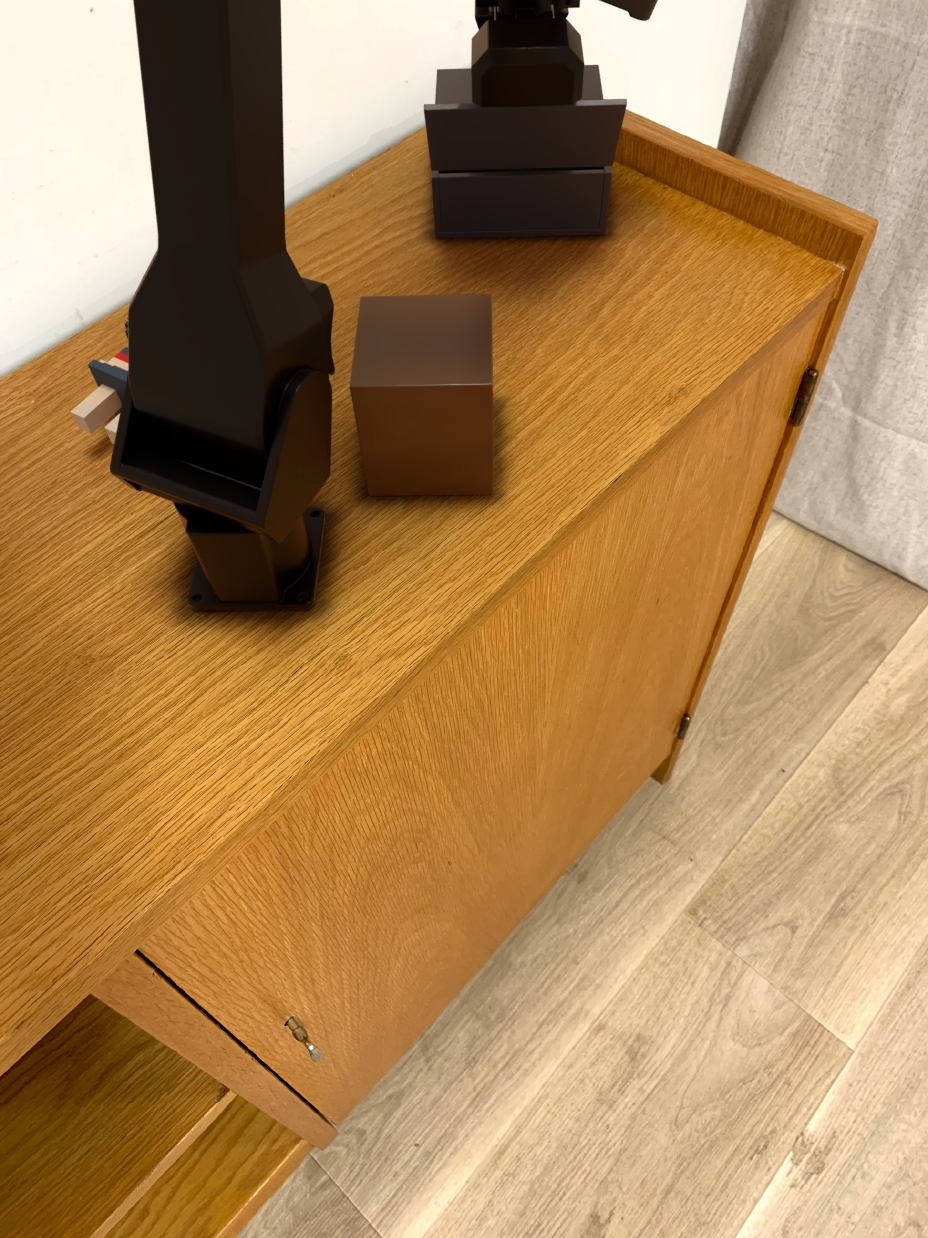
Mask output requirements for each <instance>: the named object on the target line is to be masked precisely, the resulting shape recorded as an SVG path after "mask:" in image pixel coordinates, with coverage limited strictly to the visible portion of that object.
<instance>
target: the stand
mask: <svg viewBox="0 0 928 1238" xmlns="http://www.w3.org/2000/svg"><path fill="white" fill-rule="evenodd" d="M493 318H494V317H493V294H492V293H459V294H457V293H456V294H455V293H454V294H450V293H449V294H409V295H406V294H403V295H402V294H401V295H362V296H360V297H359V305H358V313H357V319H356V327H355V329H356V330H355V338H354V345H353V354H352V362H351V370H350V378H349V385H348V387H349V393H350V398H351V403H352V404H351V405H352V409H353V414H354V415H353V416H354V420H355V427H356V431H357V437H358V442H359V447H360V453H361V454H360V455H361V458H362V464H363V470H364V474H365V480H366V486H367V491H368V495H369V496H370V497H379V496H380V497H382V496H384V497H386V496H390V497H391V496H393V497H394V496H462V495H466V496H467V495H469V496H470V495H471V496H472V495H494V493H495V483H494V482H495V477H494V474H495V473H494V472H495V471H494V469H495V468H494V466H495V465H494V463H495V462H494V460H495V459H494V457H495V456H494V455H495V453H494V451H495V450H494V339H493V338H494V337H493V336H494V335H493V333H494V332H493V327H494V325H493V324H494V323H493V321H494V320H493Z"/></svg>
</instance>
